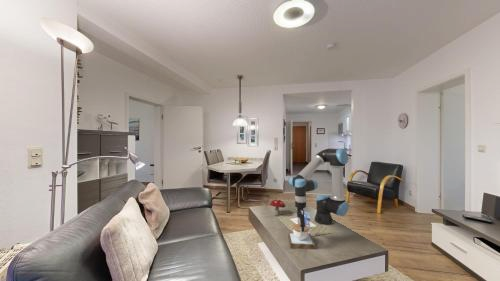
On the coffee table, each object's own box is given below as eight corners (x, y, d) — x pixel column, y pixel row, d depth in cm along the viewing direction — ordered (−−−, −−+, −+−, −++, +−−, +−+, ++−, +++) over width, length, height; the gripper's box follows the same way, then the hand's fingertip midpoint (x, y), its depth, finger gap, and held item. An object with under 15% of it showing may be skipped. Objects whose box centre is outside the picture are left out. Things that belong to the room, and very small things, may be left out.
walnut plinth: (309, 237, 147) (309, 233, 147) (314, 249, 132) (314, 244, 132) (288, 236, 149) (288, 232, 149) (290, 248, 133) (290, 243, 133)
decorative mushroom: (267, 212, 198) (267, 197, 198) (282, 211, 201) (282, 196, 200) (272, 218, 182) (271, 202, 182) (288, 217, 185) (288, 201, 185)
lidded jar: (299, 243, 133) (299, 229, 133) (289, 236, 143) (289, 223, 143) (311, 240, 138) (311, 226, 138) (302, 233, 147) (302, 220, 147)
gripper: (292, 195, 153) (293, 223, 153) (297, 207, 128) (298, 239, 128) (302, 196, 152) (303, 223, 152) (309, 207, 127) (310, 240, 128)
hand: (300, 231), depth 140 cm, fingers open, 13 cm apart
